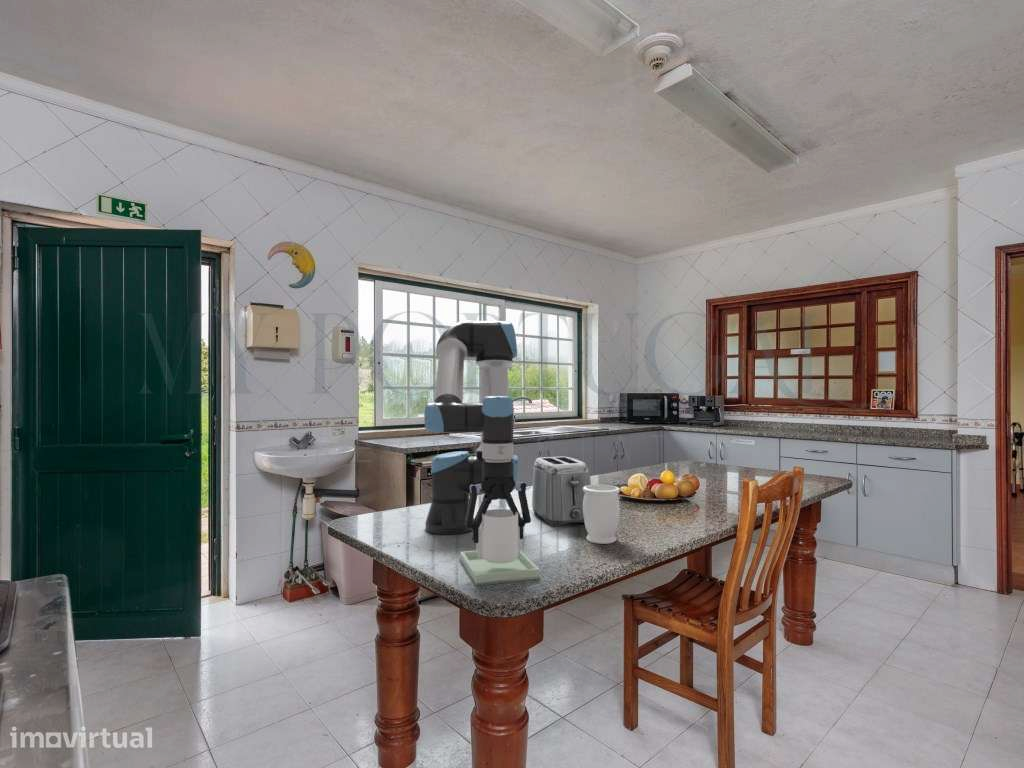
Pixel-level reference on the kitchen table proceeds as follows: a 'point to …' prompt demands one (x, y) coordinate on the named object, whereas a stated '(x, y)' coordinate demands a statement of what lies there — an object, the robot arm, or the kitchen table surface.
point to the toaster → (559, 489)
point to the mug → (499, 536)
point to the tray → (498, 569)
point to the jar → (601, 512)
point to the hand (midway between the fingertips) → (498, 554)
